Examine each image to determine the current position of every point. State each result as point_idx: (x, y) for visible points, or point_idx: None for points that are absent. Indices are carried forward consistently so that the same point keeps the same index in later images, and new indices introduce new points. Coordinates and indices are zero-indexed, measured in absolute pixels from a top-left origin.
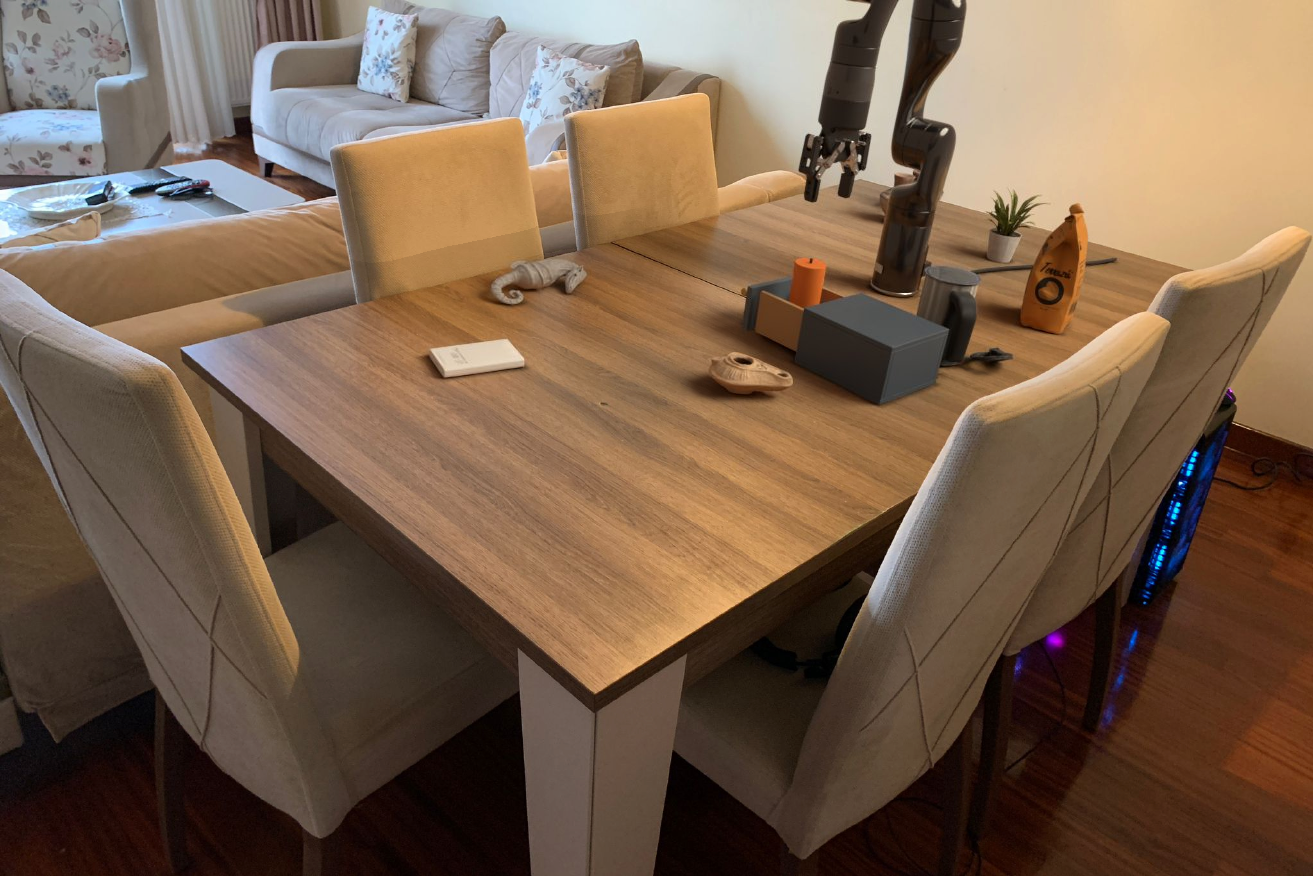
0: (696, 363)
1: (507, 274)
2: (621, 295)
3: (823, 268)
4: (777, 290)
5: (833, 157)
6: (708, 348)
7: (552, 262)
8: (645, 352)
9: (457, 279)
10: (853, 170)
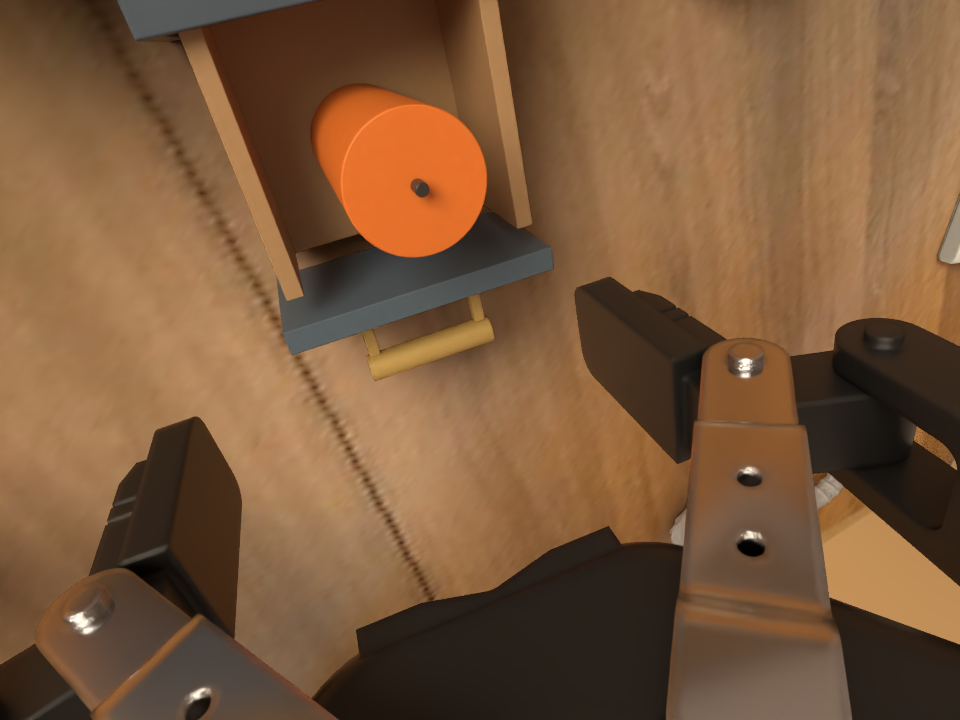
0: (705, 73)
1: (823, 503)
2: (627, 468)
3: (389, 107)
4: (420, 276)
5: (752, 513)
6: (626, 153)
7: None
8: (761, 171)
9: (821, 534)
10: (154, 596)
